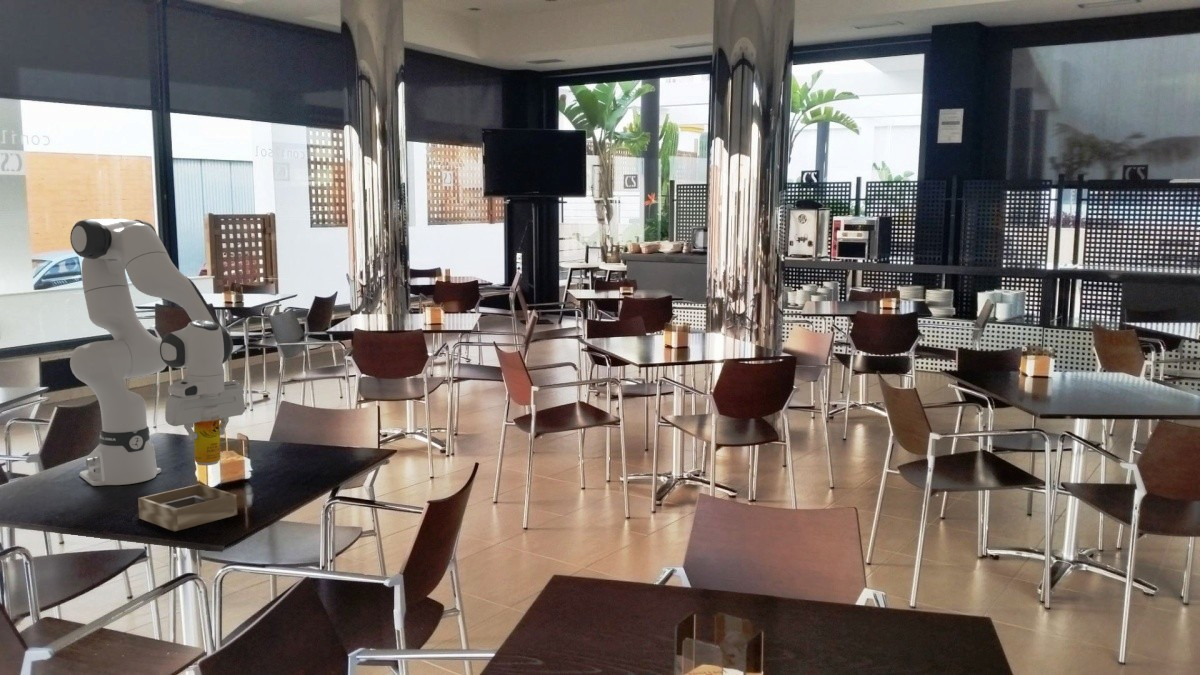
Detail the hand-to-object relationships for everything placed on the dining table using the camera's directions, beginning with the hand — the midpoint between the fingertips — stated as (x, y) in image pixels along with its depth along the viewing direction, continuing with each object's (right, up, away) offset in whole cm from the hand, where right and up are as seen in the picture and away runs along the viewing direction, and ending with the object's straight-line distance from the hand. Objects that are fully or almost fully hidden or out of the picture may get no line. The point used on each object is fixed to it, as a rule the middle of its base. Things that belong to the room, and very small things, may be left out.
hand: (206, 437), depth 243 cm
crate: (+1, -18, -14) cm, 23 cm away
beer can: (0, -7, +1) cm, 7 cm away
